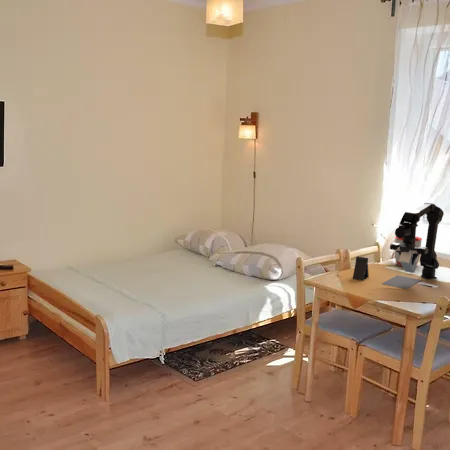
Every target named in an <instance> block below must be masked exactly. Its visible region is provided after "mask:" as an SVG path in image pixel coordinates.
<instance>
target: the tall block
mask: <svg viewBox="0 0 450 450" xmlns="http://www.w3.org/2000/svg"><path fill="white" fill-rule="evenodd" d="M412 258H413V257H412V255H411V253H405V252H401V255H400V258H399V261H400V263H401V265H402V266H401V267H402V268H403V270H404V271H405V272H407V273H412V274H414V273H415V271H416V268H417V265H416V263H415V262H414V264H413V265H412Z"/></svg>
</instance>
